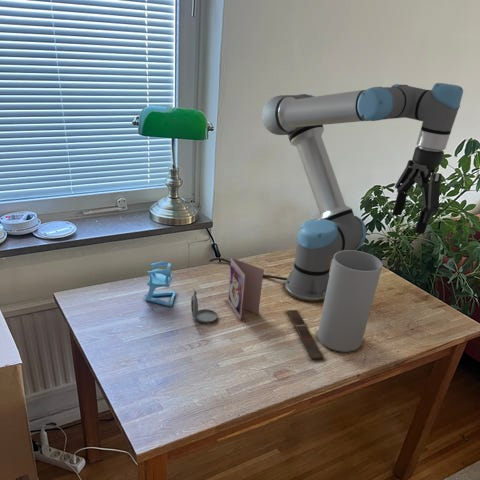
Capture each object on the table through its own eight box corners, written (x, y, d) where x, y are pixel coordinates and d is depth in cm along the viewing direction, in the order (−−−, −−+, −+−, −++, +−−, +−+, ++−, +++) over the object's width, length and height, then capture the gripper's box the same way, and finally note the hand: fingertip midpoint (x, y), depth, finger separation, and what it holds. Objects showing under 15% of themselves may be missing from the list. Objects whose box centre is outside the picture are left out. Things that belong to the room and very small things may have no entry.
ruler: (287, 312, 145) (287, 310, 144) (296, 312, 145) (296, 309, 145) (312, 360, 125) (312, 357, 125) (322, 359, 126) (323, 357, 125)
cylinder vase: (309, 331, 137) (324, 252, 124) (345, 325, 141) (364, 248, 128) (331, 356, 127) (350, 273, 114) (369, 349, 132) (392, 268, 118)
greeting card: (225, 301, 147) (228, 257, 139) (246, 298, 150) (251, 255, 142) (237, 320, 139) (242, 275, 130) (260, 317, 141) (266, 272, 133)
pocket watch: (221, 318, 139) (224, 289, 133) (200, 329, 133) (202, 298, 128) (202, 307, 143) (204, 278, 138) (181, 317, 138) (182, 287, 132)
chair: (149, 291, 149) (148, 257, 142) (175, 294, 149) (175, 259, 142) (144, 304, 142) (143, 268, 136) (171, 306, 142) (171, 271, 136)
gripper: (470, 162, 117) (441, 241, 128) (419, 138, 137) (399, 208, 149) (443, 160, 115) (417, 240, 127) (396, 136, 135) (377, 207, 147)
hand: (407, 223), depth 138 cm, fingers open, 13 cm apart
